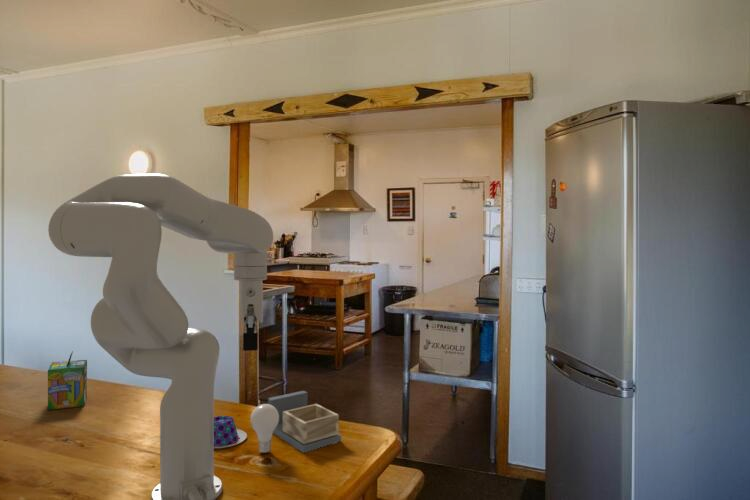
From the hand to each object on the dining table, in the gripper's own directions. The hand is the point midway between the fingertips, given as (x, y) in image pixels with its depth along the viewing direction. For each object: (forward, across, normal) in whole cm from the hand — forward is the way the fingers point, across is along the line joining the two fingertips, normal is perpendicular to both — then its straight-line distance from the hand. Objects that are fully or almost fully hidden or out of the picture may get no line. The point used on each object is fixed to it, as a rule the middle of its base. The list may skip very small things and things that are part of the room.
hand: (250, 345), depth 121 cm
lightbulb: (+23, -7, -3) cm, 24 cm away
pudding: (+24, +3, +7) cm, 25 cm away
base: (+23, +1, -13) cm, 26 cm away
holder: (+21, -2, -14) cm, 26 cm away
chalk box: (+23, +39, +51) cm, 68 cm away
